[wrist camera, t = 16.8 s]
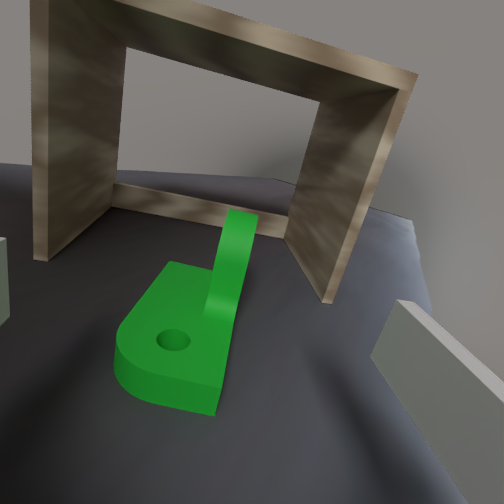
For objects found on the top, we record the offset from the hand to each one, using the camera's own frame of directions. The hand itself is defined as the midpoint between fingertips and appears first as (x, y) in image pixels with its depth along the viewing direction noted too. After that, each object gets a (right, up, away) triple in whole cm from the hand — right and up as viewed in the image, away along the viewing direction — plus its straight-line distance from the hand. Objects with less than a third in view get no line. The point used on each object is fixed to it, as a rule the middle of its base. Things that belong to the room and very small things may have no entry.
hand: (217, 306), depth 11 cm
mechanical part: (-3, -4, +10) cm, 11 cm away
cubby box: (-4, +2, +23) cm, 24 cm away
